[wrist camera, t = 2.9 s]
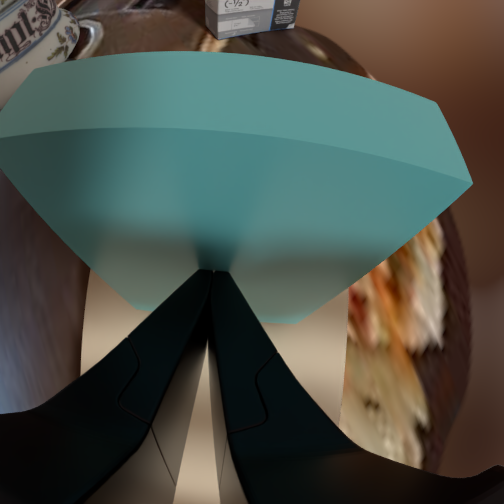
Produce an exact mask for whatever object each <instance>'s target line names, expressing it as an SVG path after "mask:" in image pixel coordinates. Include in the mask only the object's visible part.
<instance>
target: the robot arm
mask: <svg viewBox="0 0 504 504" xmlns="http://www.w3.org/2000/svg"><path fill="white" fill-rule="evenodd" d="M127 337H128V338H127ZM127 337H125V338H124V339H123V340H122V341H121V342H120V343H119V344H118V345H117V346H116V347H115V348H114V349H112V350H111V351H110V352H109V353H108V354H107V355H106V356H105V357H104V358H102V359H101V360H100V361H99V362H97V363H96V364H95V365H94V366H92V367H91V368H90V369H89V370H87V371H86V372H85V373H84V374H82V375H81V376H80V377H78V378H77V379H76V380H74V381H73V382H72V383H70V384H69V385H68V386H66V387H65V388H64V389H62V390H61V391H60V392H59V393H57V394H56V395H55V396H53V397H52V398H51V399H49V400H48V401H46V402H45V403H43V404H41V405H40V406H38V407H35V408H33V409H31V410H27V411H23V412H15V413H6V414H0V504H173V501H174V496H175V491H176V486H177V481H178V476H179V472H180V467H181V462H182V457H183V453H184V448H185V443H186V439H187V434H188V430H189V425H190V421H191V416H192V412H193V407H194V403H195V398H196V394H197V389H198V385H199V381H200V376H201V372H202V368H203V363H204V359H205V355H206V350H207V343H208V369H209V386H210V401H211V414H212V427H213V439H214V450H215V460H216V470H217V480H218V489H219V497H220V504H504V466H501V465H495V466H493V467H491V468H489V469H487V470H485V471H483V472H481V473H480V474H478V475H475V476H472V477H466V478H451V477H446V476H441V475H437V474H434V473H430V472H427V471H423V470H420V469H417V468H414V467H411V466H408V465H405V464H402V463H399V462H396V461H393V460H390V459H387V458H384V457H382V456H379V455H376V454H374V453H371V452H369V451H367V450H365V449H363V448H361V447H360V446H358V445H357V444H355V443H354V442H353V441H352V440H350V439H349V438H348V437H347V436H346V435H345V434H344V433H343V432H342V431H341V430H340V429H339V427H338V426H337V425H336V424H335V423H334V422H333V421H332V420H331V419H330V417H329V416H328V415H327V414H326V413H325V412H324V411H323V410H322V408H321V407H320V406H319V405H318V404H317V403H316V402H315V401H314V399H313V398H312V397H311V396H310V395H309V394H308V392H307V391H306V390H305V389H304V387H303V386H302V385H301V384H300V383H299V381H298V380H297V379H296V377H295V376H294V374H293V373H292V372H291V370H290V369H289V367H288V366H287V364H286V363H285V361H284V360H283V358H282V356H281V355H280V353H278V351H277V349H276V347H275V346H274V344H273V342H272V341H271V339H270V338H269V336H268V335H267V333H266V331H265V330H264V328H263V327H262V325H261V323H260V322H259V320H258V318H257V317H256V315H255V314H254V312H253V310H252V309H251V307H250V306H249V304H248V302H247V301H246V299H245V297H244V296H243V294H242V292H241V291H240V289H239V288H238V286H237V284H236V283H235V281H234V279H233V278H232V276H231V274H230V273H229V272H227V271H214V273H213V271H212V270H205V269H198V270H197V271H196V272H195V273H194V274H193V275H191V276H190V277H189V278H188V279H187V280H186V281H185V282H184V283H183V284H182V285H181V286H180V287H178V288H177V289H176V290H175V291H174V292H173V293H172V294H171V295H170V296H169V297H168V298H167V299H166V300H165V301H163V302H162V303H161V304H160V305H159V306H158V307H157V308H156V309H155V310H154V311H153V312H152V313H151V314H150V315H149V316H147V317H146V318H145V319H144V320H143V321H142V322H141V323H140V324H139V325H138V326H137V327H136V328H135V329H134V330H133V331H132V332H131V333H130V334H129V335H128V336H127Z"/></svg>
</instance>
